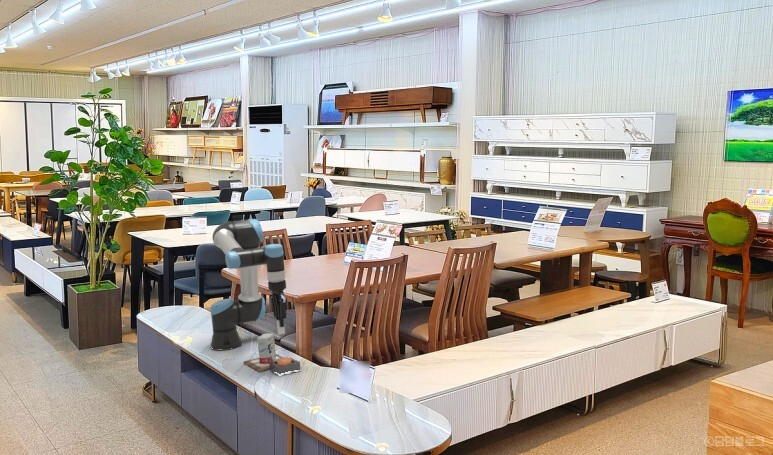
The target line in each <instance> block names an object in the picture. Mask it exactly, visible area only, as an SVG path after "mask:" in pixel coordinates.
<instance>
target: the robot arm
mask: <svg viewBox="0 0 773 455" xmlns="http://www.w3.org/2000/svg"><path fill="white" fill-rule="evenodd" d="M262 242H264V232H263V228H262V225H261V223H260V221H259V220H258V219H256V218H251V219H249V218H248V219H240V220H233V221H232V220H230V221H225V222H223V223H221V224H219V225H218V226H216V228H215V229H214V231H213V233H212V243H214V245H215V247H217V248H218V249H220V250H221V251H223V253H224V255H225V256H224V257H225V259H224V260H225V265H226V267H227V269H229V270H234V269H235V270H236V269H239V276H240V278H239V279H240V294H239V295H237V299H238V300H234V299H233V298H224V299H219V300H217V301H215V302H213V303H212V304H211V305H210V315H211V324H212V335H211V336H212V337H211V342H210V348H211V347H212V348H213V349H229V350H232V349H231V348H233V349H236V348H235V347H237V348H239V347H241V346H242V345H241V344H243V343H242V339H241V337H240V335H239V332H238V329H237V324H238V325H239V324H243V323H245V324H246V323H251V322H257V321H260V320H263V318H264V317H265V316H266V315H265V314H266V310H267V308H266V300H265V297H263V296H262V294H261V293H260V292H259V277H258V276H259V275H258V274H259V273H258V266H263V265H265V266H266V274H267V275H266V277H267V281H268V282H267V286H268V290H269V291H270V292H271V294H269V298H270V302H271V308H272V313H273V317H275V319H276V326H277V327H276V328H277V329H276V330H277V335H285V334H286V330H285V329H286V328H285V319H287V302H288V298H287V297H285V294H284V290H286V289H287V282H286V280H285V279H286V271H285V258H284V249H283V248H284V247H283V245H282V244H280V243H273V244H272V243H271V244H267V245H263V246H261V243H262ZM240 345H241V346H240ZM238 346H239V347H238ZM213 349H212V350H213Z"/></svg>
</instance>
